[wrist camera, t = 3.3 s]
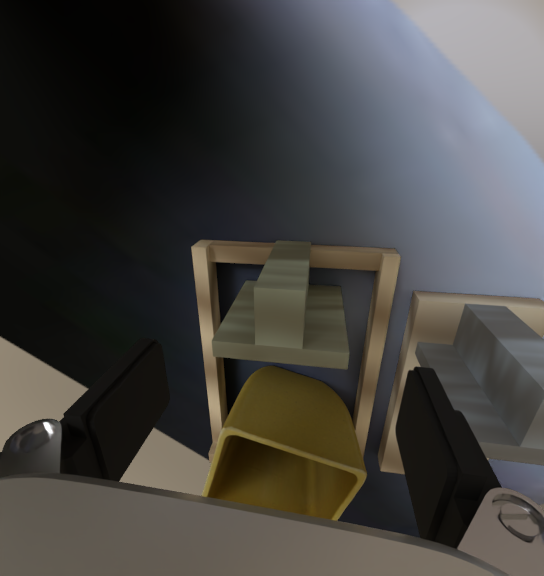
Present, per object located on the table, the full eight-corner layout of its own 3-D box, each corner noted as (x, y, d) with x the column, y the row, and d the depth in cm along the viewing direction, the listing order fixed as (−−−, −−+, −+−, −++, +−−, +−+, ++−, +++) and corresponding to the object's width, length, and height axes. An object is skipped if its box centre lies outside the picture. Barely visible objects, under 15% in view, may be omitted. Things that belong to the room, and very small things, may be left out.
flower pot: (253, 337, 25) (221, 427, 17) (355, 370, 25) (371, 476, 17) (231, 410, 29) (196, 512, 21) (319, 439, 29) (318, 553, 21)
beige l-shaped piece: (413, 290, 22) (473, 385, 13) (539, 298, 20) (694, 407, 12) (377, 455, 29) (401, 586, 20) (469, 467, 28) (536, 611, 19)
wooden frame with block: (200, 236, 22) (142, 280, 15) (395, 245, 20) (434, 299, 13) (219, 434, 31) (188, 523, 23) (358, 453, 29) (370, 554, 22)
